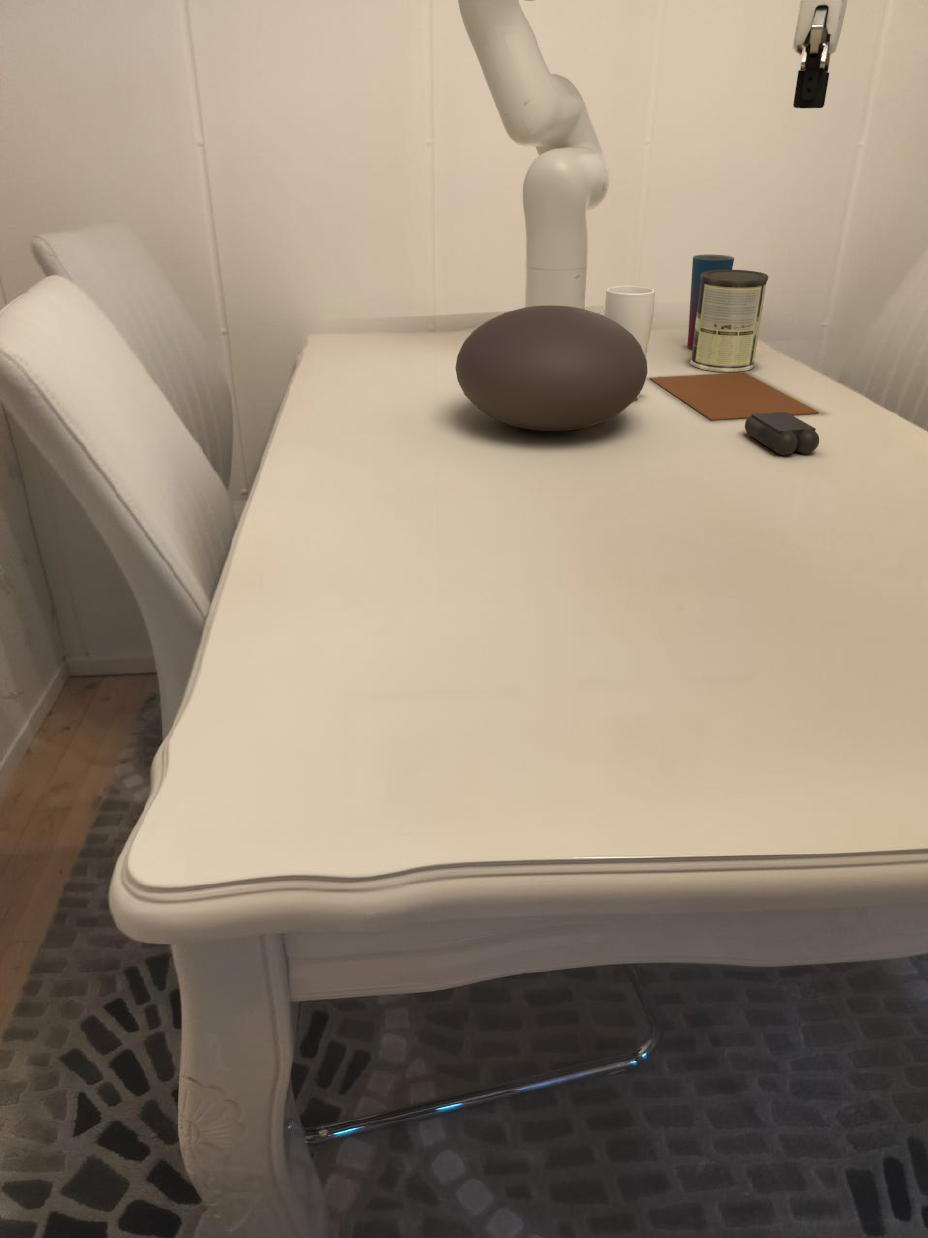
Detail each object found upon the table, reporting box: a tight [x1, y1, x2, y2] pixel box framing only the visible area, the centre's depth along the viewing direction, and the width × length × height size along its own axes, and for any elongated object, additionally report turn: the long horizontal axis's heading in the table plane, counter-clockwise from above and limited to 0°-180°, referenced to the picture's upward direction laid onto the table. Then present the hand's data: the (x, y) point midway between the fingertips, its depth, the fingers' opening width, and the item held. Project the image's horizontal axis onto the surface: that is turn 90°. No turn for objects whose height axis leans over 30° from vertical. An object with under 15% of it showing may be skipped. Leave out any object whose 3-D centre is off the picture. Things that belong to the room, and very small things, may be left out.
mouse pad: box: [649, 372, 819, 421], centre depth 130 cm, size 16×22×1 cm
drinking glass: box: [603, 285, 656, 401], centre depth 126 cm, size 7×7×15 cm
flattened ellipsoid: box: [455, 305, 648, 432], centre depth 115 cm, size 25×25×15 cm
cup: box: [686, 253, 735, 351], centre depth 153 cm, size 7×7×15 cm
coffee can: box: [690, 269, 769, 373], centre depth 143 cm, size 10×10×14 cm
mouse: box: [744, 412, 820, 456], centre depth 110 cm, size 6×10×3 cm, turn 11°
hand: (808, 107), depth 114 cm, fingers open, 9 cm apart
